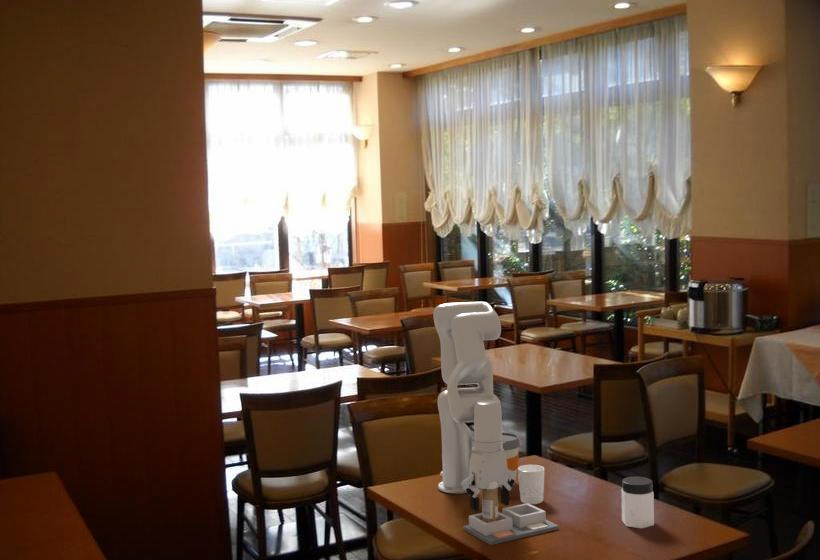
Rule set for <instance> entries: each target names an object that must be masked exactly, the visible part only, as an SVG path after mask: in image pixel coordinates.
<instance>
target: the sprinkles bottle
mask: <svg viewBox="0 0 820 560" xmlns="http://www.w3.org/2000/svg"><path fill="white" fill-rule="evenodd" d="M498 488H499V487H498V484H497V482H492V483H490V485H489V488H487V489H482V490H481V496H482V497H481V505H482V506H481V507H482V508H481V510H482V512H481V513H482V516H483V521H484V522H486V523H489V522H494V521H498V512H499V496H498Z"/></svg>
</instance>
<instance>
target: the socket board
mask: <svg viewBox="0 0 820 560" xmlns="http://www.w3.org/2000/svg"><path fill="white" fill-rule="evenodd" d="M546 513H547V512H546V511H545V510H543V509H542V508H539V507H537V506H535V505H534V504H529V503H522V504H517V505H513V506H508V507H503V508H502V512H500V511H498V521H494V522H489V523H486V522H484V521H483V516H482V512H480V513H477V514H471V515H468V524H466V525H463V526H462V529H463V531H465V532H467V533H469V534H470V535H472V536H474V537H476V538H477V539H479V540H480V541H483V542H485V543H486V544H488V545H490V546H493V545H498V544H501V543H506V542H510V541H513V540H518V539H523V538H528V537H532V536H535V535H539V534H540V535H541V534H544V533H549V532H552V531H556V530H559V525H558V524H556V523H554V522H552V521H550V520H548V519H547V518H546V516H547V514H546Z"/></svg>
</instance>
